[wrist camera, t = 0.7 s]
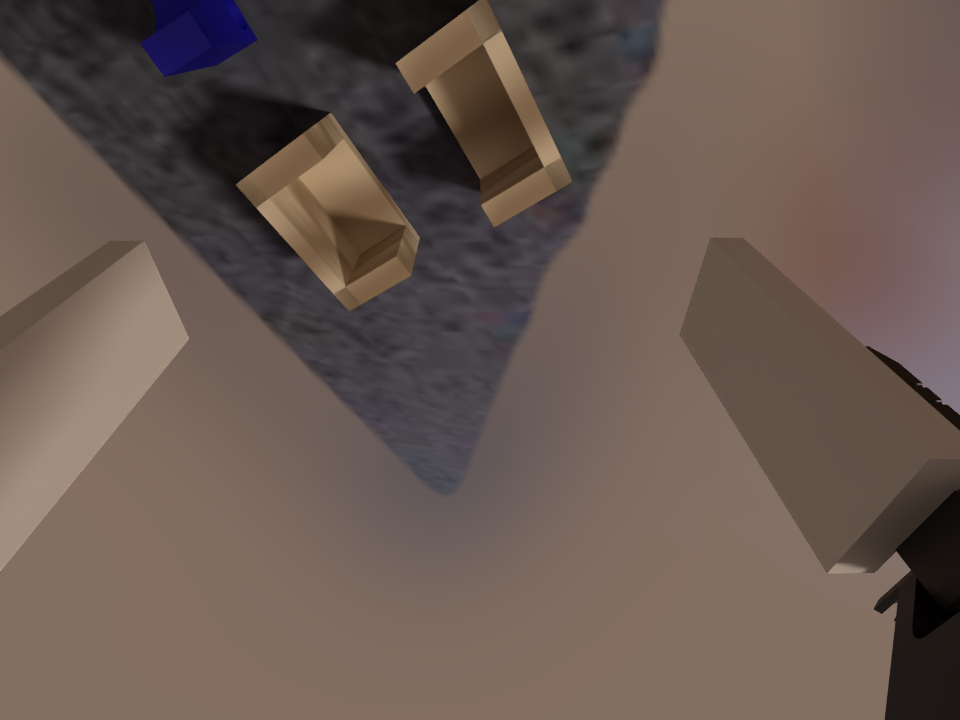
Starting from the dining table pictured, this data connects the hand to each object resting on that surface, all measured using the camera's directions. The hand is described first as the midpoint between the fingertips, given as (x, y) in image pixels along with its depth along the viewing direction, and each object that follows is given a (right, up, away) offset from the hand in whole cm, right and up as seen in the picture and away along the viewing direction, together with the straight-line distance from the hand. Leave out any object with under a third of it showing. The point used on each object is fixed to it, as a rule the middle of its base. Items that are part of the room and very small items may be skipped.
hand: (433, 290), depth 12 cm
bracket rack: (-3, +12, +19) cm, 23 cm away
